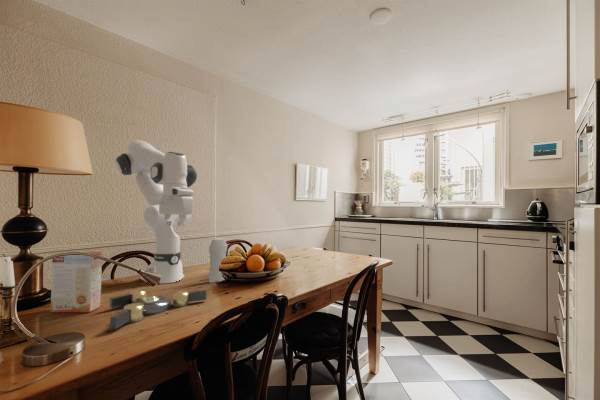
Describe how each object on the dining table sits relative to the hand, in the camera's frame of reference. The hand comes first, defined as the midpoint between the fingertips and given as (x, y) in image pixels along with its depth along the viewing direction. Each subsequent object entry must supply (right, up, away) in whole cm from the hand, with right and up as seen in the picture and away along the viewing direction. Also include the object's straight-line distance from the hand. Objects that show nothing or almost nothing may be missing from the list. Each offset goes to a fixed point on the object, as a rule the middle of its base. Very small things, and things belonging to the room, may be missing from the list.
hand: (174, 225), depth 111 cm
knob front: (-5, -29, -22) cm, 37 cm away
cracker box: (-31, -30, -11) cm, 44 cm away
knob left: (+7, -30, -3) cm, 31 cm away
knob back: (-15, -30, -6) cm, 34 cm away
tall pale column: (+8, -31, +30) cm, 44 cm away
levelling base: (-4, -30, -9) cm, 32 cm away
